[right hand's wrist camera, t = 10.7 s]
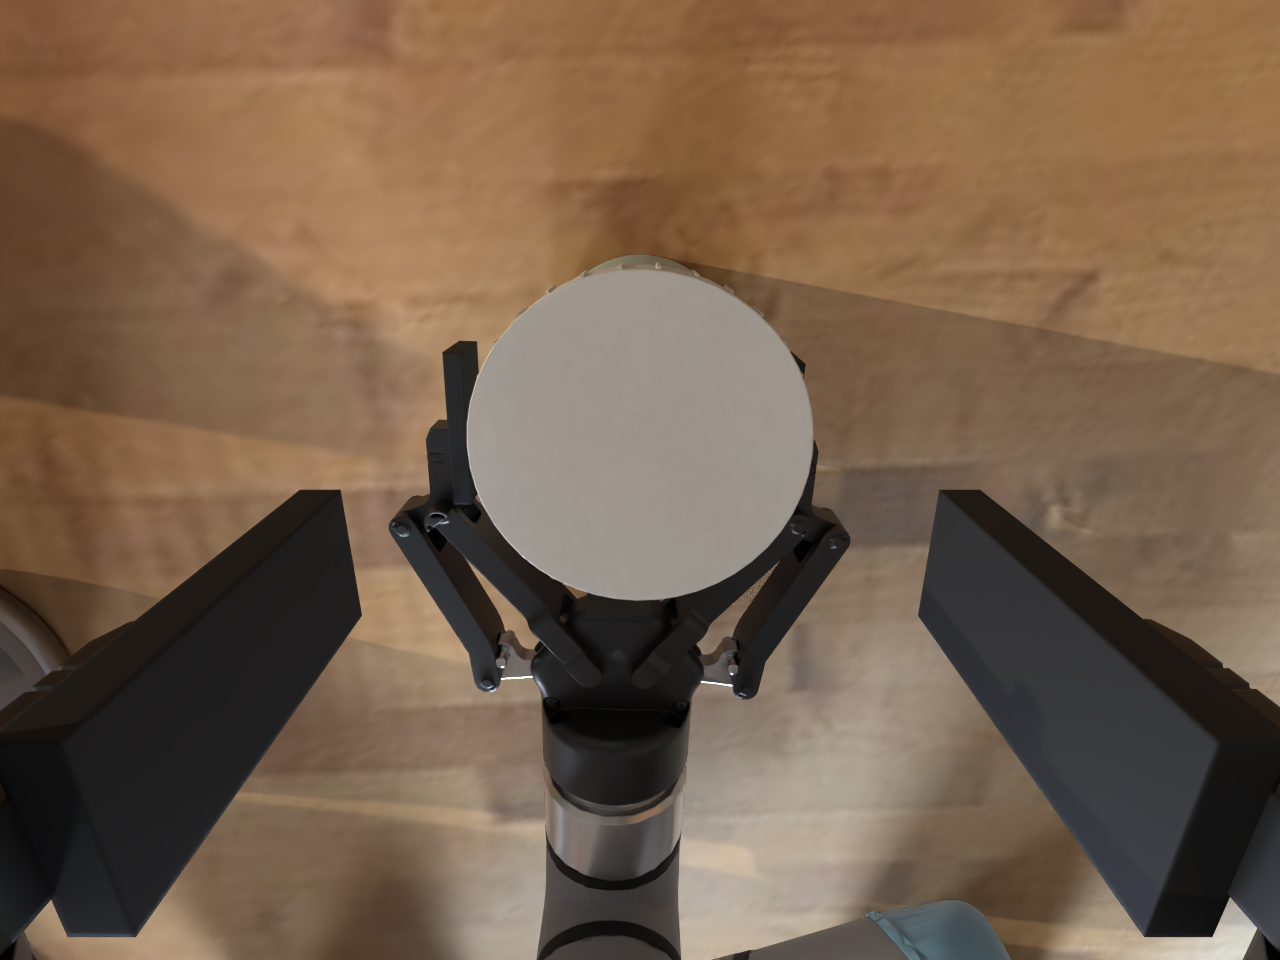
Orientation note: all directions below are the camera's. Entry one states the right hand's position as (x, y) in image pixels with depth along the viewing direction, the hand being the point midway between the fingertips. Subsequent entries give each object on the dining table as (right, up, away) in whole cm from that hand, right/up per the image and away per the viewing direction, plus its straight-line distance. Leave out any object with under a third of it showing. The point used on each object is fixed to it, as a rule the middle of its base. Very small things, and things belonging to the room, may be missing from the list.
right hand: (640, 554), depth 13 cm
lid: (0, +2, +6) cm, 7 cm away
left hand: (-1, +7, +15) cm, 16 cm away
